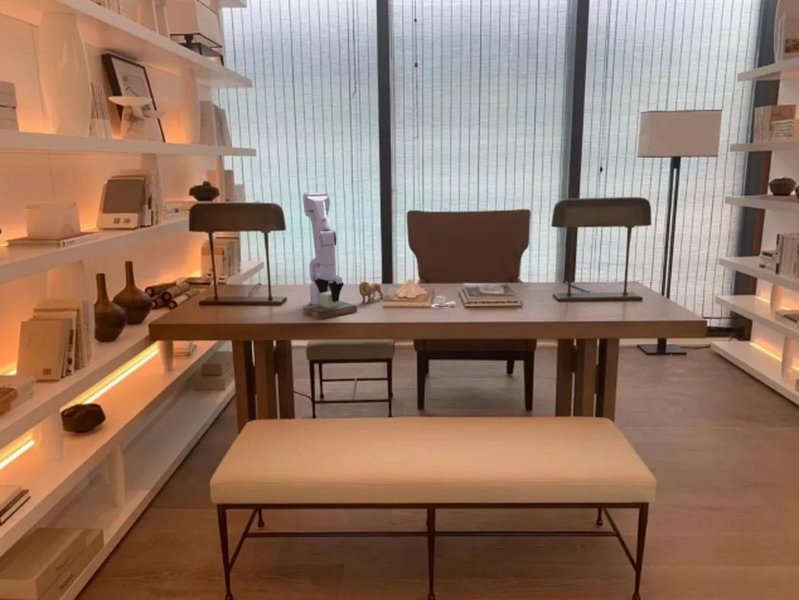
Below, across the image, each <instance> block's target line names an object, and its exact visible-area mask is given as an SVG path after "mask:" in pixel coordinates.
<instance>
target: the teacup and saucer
mask: <svg viewBox="0 0 799 600" xmlns="http://www.w3.org/2000/svg"><path fill="white" fill-rule="evenodd" d="M433 299H434V303H433V304H431V305H430V306H431V307H432V308H434V309H439V308H444V309H450V308H451V307H453V306H455V305H456V302H455V301H448V302H446V295H437V296H436V297H435V298H433ZM436 299H437V301H436ZM436 305H437V307H436Z"/></svg>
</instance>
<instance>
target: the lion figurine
mask: <svg viewBox="0 0 799 600" xmlns="http://www.w3.org/2000/svg"><path fill="white" fill-rule="evenodd" d="M358 289H359V290H358V291H359V294H360V296H362V297H361V298H362V301H361V303H365V302H366V297H367V304H372V301H371V300H374V299H375V297H376V292H377V293H378V294H379V297H380V300H382V299H383V300H384V293H383V291H382V289H381V285H380V283H377V282H375V283H372V284H370V283H369V282H367V281H362V282H360V283H359V285H358ZM371 295H372V296H371Z"/></svg>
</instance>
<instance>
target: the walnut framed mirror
mask: <svg viewBox="0 0 799 600" xmlns="http://www.w3.org/2000/svg"><path fill="white" fill-rule="evenodd" d="M357 312H358V306H357V305H355V304H352V303H349V302H345V301H342V300H339V306H338V307H333V308H325V307H322V306H321V304H317V305H313V304H311V305H308V306H304V307H303V308H302V313H303V315H306V316H310V317H312V318H314V319H319V320H322V321H323V320H326V319H330V318H334V317H339V316H344V315H347V314H348V315H349V314H352V313H357Z"/></svg>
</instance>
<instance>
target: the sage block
mask: <svg viewBox="0 0 799 600" xmlns="http://www.w3.org/2000/svg"><path fill="white" fill-rule="evenodd" d="M320 301H321V306H322V307H325V308H333V307H338V306H339V301H340V299H339V300H338V301H337V302H333V301H332V295H331V291H328V292H323V293H320Z"/></svg>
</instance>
